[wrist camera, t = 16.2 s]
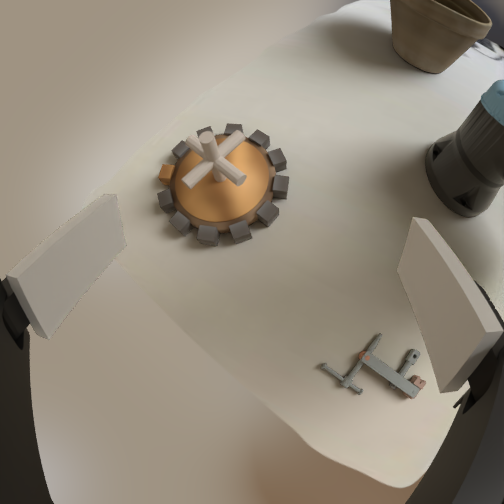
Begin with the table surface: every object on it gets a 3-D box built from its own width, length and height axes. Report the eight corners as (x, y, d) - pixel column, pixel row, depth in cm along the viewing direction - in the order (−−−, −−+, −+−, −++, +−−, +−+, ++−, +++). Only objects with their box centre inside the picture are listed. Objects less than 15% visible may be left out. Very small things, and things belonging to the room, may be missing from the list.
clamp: (437, 365, 32) (397, 422, 31) (430, 363, 34) (392, 418, 33) (365, 308, 35) (320, 370, 34) (360, 309, 38) (318, 367, 36)
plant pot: (370, 19, 52) (382, -41, 31) (449, 48, 49) (472, -4, 28) (374, 66, 47) (395, -13, 26) (468, 103, 44) (508, 43, 23)
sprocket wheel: (261, 118, 45) (260, 109, 43) (308, 217, 41) (310, 211, 38) (153, 158, 45) (148, 151, 43) (180, 264, 41) (174, 261, 38)
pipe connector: (174, 180, 41) (150, 144, 32) (221, 138, 42) (209, 95, 33) (220, 222, 39) (203, 191, 29) (269, 173, 40) (267, 132, 31)
